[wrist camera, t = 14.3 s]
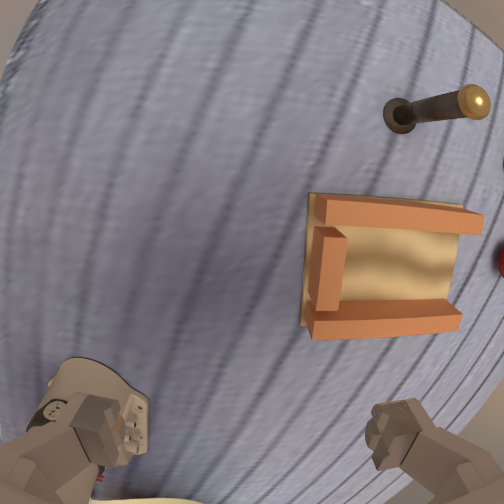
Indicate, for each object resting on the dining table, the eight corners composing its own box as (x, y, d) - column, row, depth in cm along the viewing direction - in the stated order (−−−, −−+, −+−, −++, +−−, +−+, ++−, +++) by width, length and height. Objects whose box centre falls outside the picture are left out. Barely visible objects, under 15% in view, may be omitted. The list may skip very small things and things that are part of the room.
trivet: (437, 313, 40) (441, 317, 39) (299, 321, 39) (300, 325, 38) (458, 203, 35) (463, 205, 34) (308, 192, 35) (310, 193, 34)
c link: (304, 318, 38) (311, 340, 33) (316, 193, 34) (327, 199, 29) (439, 313, 38) (457, 330, 34) (461, 207, 34) (484, 215, 29)
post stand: (414, 136, 33) (503, 133, 18) (383, 131, 33) (466, 121, 17) (414, 102, 32) (501, 82, 16) (383, 95, 32) (463, 66, 16)
